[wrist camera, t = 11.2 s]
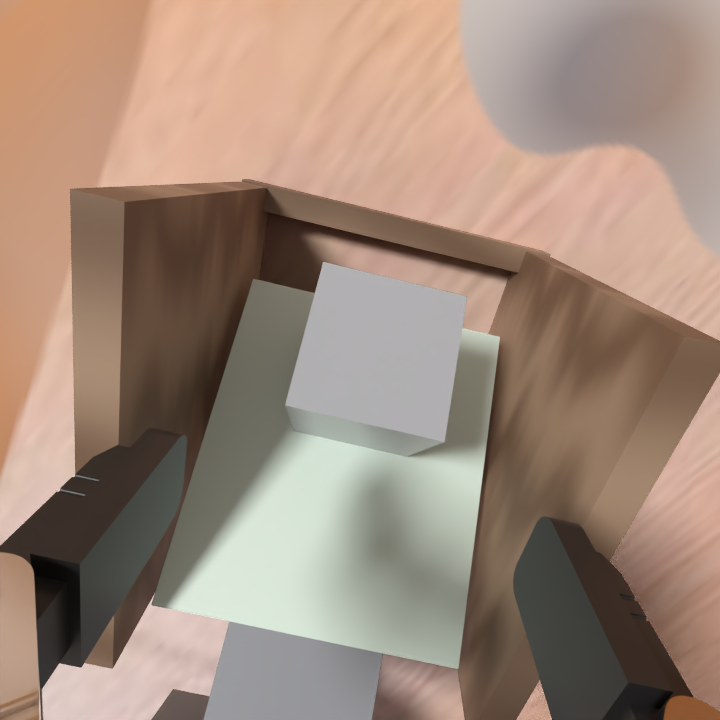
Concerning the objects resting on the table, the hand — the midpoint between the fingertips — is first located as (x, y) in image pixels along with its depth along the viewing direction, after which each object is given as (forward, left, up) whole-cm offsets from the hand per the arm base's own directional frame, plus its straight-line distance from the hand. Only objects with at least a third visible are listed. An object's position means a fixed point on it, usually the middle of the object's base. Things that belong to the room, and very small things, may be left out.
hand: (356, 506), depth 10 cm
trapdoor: (0, +10, -9) cm, 13 cm away
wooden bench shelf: (0, +3, -16) cm, 16 cm away
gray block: (0, +2, -10) cm, 10 cm away
